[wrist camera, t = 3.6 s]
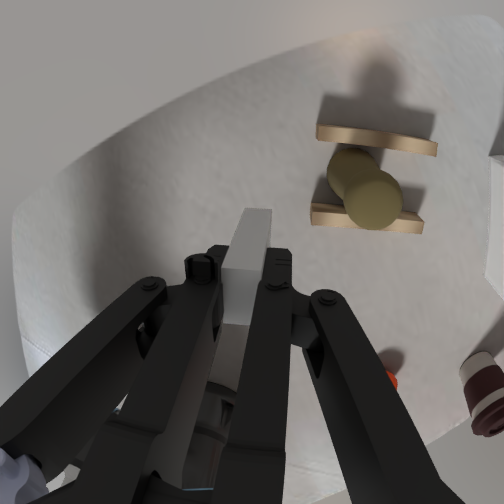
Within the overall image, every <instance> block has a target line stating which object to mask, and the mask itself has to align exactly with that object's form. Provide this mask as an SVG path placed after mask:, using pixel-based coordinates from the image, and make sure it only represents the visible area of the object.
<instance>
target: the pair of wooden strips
mask: <svg viewBox="0 0 504 504" xmlns="http://www.w3.org/2000/svg"><path fill="white" fill-rule="evenodd" d="M316 139H317V140H318V141H328V142H339V143H348V144H357V145H365V146H373V147H380V148H387V149H394V150H400V151H406V152H412V153H418V154H424V155H429V156H434V157H436V155H437V147H438V143H436V142H433V141H430V140H428V139H423V138H418V137H413V136H407V135H401V134H395V133H389V132H383V131H376V130H369V129H361V128H353V127H345V126H336V125H325V124H316ZM310 220H311V225H319V226H333V227H346V228H358V229H364V228H362V227H359V226H358V225H356V224H355V223H354V222H353V221H352V220H351V219H350V218H349V216H348V214H347V213H346V210H345V207H344V205H334V204H322V203H311V207H310ZM423 226H424V221H423V220H422V219H421V218H420V217H419V216H418V215H417V214H416V213H415V212H406V211H401V212H400V214H399V216H398V218H397V219H396V220H395V221H394V222H393V223H392V224H391V225H389V226H387V227H386V228H384V229H379V230H382V231H393V232H404V233H414V234H422V231H423Z"/></svg>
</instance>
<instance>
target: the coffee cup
mask: <svg viewBox="0 0 504 504" xmlns="http://www.w3.org/2000/svg"><path fill="white" fill-rule="evenodd" d="M459 374H460V378H461V381H462V384H463V387H464V394H465V398H466V401H467V405H468V408H469V412H470V415H471V417H472V418H473V422H472V425H471V427H472V430H473V433H474V434H475V435H483V436H485V437H491V436H494V435H496V434H499V433H501V432H502V431H504V373H503V371H502V369H501V368H500V367H499V366H498V365H497V364H496V362H495V361H494V359H493V358H492V356H491V355H490V353H488V352H479V353H477V354H474V355H473V356H471V357H470V358H469V359H467V360H466V361H465V362H464V364H463V365H462V367H461V369H460V372H459Z"/></svg>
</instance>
